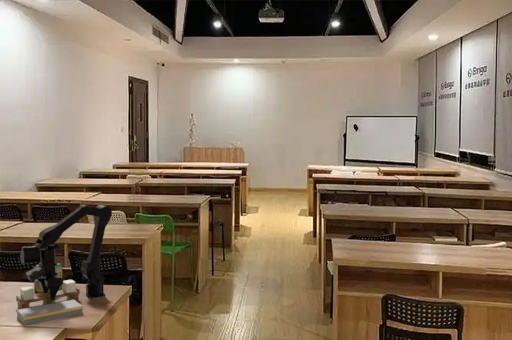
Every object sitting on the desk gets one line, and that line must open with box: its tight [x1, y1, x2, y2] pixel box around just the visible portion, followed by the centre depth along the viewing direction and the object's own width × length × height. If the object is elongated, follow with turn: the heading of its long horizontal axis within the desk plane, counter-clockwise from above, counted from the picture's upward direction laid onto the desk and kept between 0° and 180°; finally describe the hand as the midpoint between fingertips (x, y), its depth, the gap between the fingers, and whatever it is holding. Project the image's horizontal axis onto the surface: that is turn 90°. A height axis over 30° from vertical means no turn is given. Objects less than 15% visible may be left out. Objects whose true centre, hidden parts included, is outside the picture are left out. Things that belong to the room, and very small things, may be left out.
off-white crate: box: [61, 279, 77, 293], centre depth 234 cm, size 4×5×4 cm
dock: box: [16, 299, 84, 326], centre depth 215 cm, size 22×10×3 cm, turn 128°
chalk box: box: [32, 262, 63, 293], centre depth 248 cm, size 9×9×15 cm
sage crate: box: [19, 285, 35, 300], centre depth 223 cm, size 4×5×4 cm
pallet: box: [15, 286, 81, 310], centre depth 229 cm, size 24×6×5 cm, turn 128°
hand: (48, 297), depth 229 cm, fingers open, 9 cm apart
